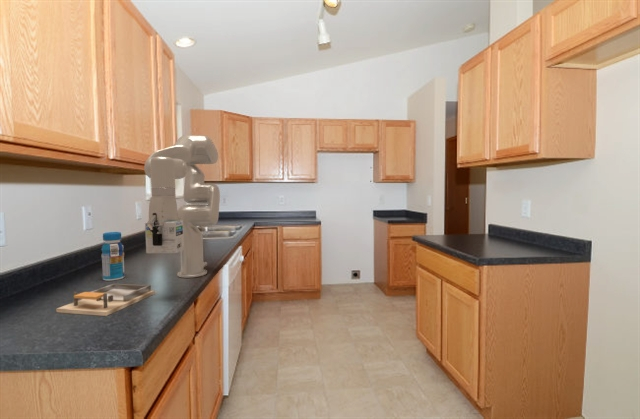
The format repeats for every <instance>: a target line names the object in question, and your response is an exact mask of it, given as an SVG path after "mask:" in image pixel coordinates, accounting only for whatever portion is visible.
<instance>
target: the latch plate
mask: <svg viewBox="0 0 640 419" xmlns="http://www.w3.org/2000/svg"><path fill="white" fill-rule="evenodd" d="M103 294H104V293H96V292H91V291H83V292H80V293H77V295H74V294H73V299H74V298H78V300H81V299H94V300H96V299H99V298H101V297H103Z"/></svg>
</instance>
